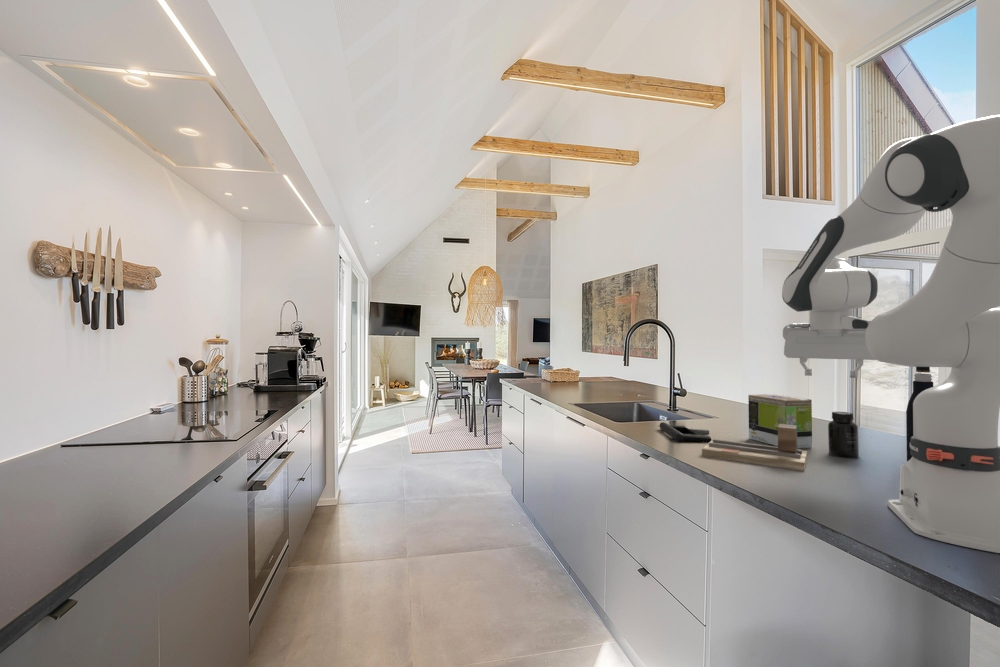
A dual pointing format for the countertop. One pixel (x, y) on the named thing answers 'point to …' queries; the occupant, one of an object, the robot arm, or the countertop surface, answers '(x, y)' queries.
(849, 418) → the supplement bottle
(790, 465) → the slider board
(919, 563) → the countertop surface
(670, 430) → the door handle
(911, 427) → the black water bottle
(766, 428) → the tea box
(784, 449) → the fader knob
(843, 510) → the countertop surface
